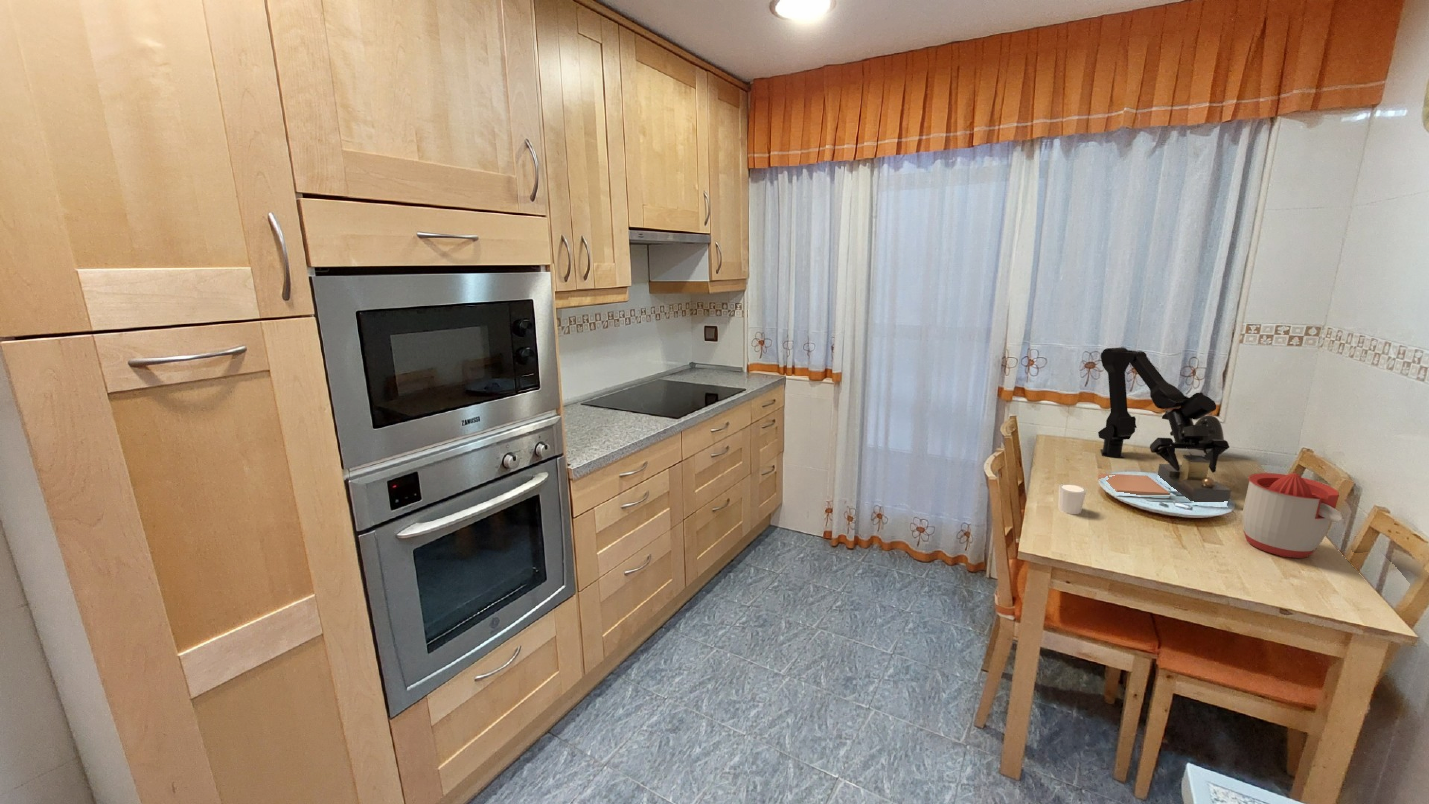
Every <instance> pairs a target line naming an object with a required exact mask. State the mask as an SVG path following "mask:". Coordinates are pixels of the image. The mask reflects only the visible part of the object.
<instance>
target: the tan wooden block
mask: <svg viewBox="0 0 1429 804" xmlns="http://www.w3.org/2000/svg"><path fill="white" fill-rule="evenodd" d="M1209 464H1210V460H1208V459H1207V458H1205V457H1203V456H1197V455H1192V454H1183V455H1182V460H1181V464H1180V465H1181V471H1180V476H1179V480H1181V481H1182V480H1197V481H1202V479H1204V478H1208V473H1209V470H1210V468H1209Z"/></svg>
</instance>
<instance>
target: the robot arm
mask: <svg viewBox="0 0 1429 804" xmlns="http://www.w3.org/2000/svg"><path fill="white" fill-rule="evenodd" d="M1100 359H1101V360H1100V361H1101V365H1102V368H1103V369H1104V370H1105V371H1106V372H1107V376H1108V377H1107V378H1108V379H1107V380H1108V390H1109V405H1110V407H1109V409H1110V413H1109V415H1108V416H1107V418H1106V421H1105V426H1104V427H1103V428H1102V429H1101V430H1099V431H1098V432H1097V434H1098V438H1099V439H1101V440H1103V446H1102V449H1100V450H1099V451H1100V454H1101V456H1103V457H1109V458H1110V457H1111V458H1117V459H1118V458H1120V459H1124V454H1123V446H1124V441H1125V440H1130V439H1131V437H1132V435H1133V434H1135V432H1136V429H1137V425H1136V421H1137V420H1136V416H1132V415H1131V414H1130V413H1129V411H1128V410H1129V409H1128V398H1127V397H1128V396H1127V384H1126V381H1127V380H1126V370H1127V369H1128V367H1129V365H1130V366H1131V367H1132V368H1133V369H1134V371H1135V372H1136V373H1137V374H1138V375H1139V377H1140V379H1142V382H1144V384H1145V385H1146V387H1148V389H1149V394H1150V395H1149V396H1150V399H1151V401H1152V403H1153V405H1154V406H1155V407H1156V408H1157V409H1160V410H1166V409H1167V411H1165V413H1164V414H1163V415H1161V419H1162V420H1167V421H1168V422H1169V425H1170V426H1169V427H1170V429H1171V431H1170V432H1169V434H1170V437H1157V438H1156V439H1155V440H1154V441H1153V442H1152V443H1150V444H1149V449H1150V452H1151V453H1154V454H1155V455H1157V456H1160V457H1161V458H1162V459H1164V460H1165V461H1166V462H1167V464H1170V465H1171V466H1172V467H1173V468H1174V469H1175V470H1176V471H1179V470H1180V468H1179V465H1180V464H1179V460H1178V458H1177V455H1176V449H1177V450H1178V449H1180V450H1185V449H1186V450H1188V449H1203V451H1204V453H1206V455H1204V457H1205V458H1207V459H1208V460H1210V464H1209V471H1210V472H1211V473H1212V474H1213V473H1216V471H1217V463H1218V459H1219V456H1220V455H1222V454H1223V453H1224V452H1225V451H1227V450H1228V449H1230V445H1229V444H1230V443H1229V442H1228V441H1227V440H1226V439H1224V440H1218V439H1211V440H1210V441H1209V442H1207V443H1199V441H1202V440H1203V439H1204V438H1203V437H1206V436H1207V437H1209V435H1212V434H1215V427H1214V425H1213V424H1204V425H1203V426H1197V425H1195V423H1194V421H1193V420H1197V421H1198V420H1199V419H1200V418H1202V417H1203V416H1207V415H1209V414H1211V413H1212V412H1214V411H1216V410H1217V404H1216V402H1215V400H1213V399H1212V398H1210V397H1209V396H1208V395H1204V392H1195V393H1194V394H1192V395H1191V396H1190V397H1189V396H1186V395H1185V394H1184V393H1183V392H1182V391H1181V390H1180V389H1178V387H1176V386H1174V385H1172V384H1171V383H1168V382H1167V381H1166V380H1165V378H1164V377H1163V376H1162V375H1161V373H1160V372H1159V371H1158V370H1157V368H1156V367H1155V365H1154V364H1153V363H1152V362H1151V361H1150V360H1149V358H1148V357H1147V354H1146V352H1145V351H1142V350H1139V351H1138V350H1129V349H1127V348H1126V347H1124V346H1123V347H1121V346H1119V347H1108V348H1105V349H1103V351H1101V353H1100ZM1169 409H1170V411H1169ZM1171 436H1173V438H1171ZM1173 439H1174V440H1173Z"/></svg>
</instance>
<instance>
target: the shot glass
mask: <svg viewBox="0 0 1429 804" xmlns="http://www.w3.org/2000/svg"><path fill="white" fill-rule="evenodd" d="M1086 493H1087V489H1086V488H1085V487H1083V486H1081V485H1078V484H1073V483H1062V484H1059V486H1058V510H1059V511H1060V510H1061V512H1062V511H1063V513H1065V514H1068V513H1069V515H1080V514H1081V513H1082V510H1083V505H1084V501H1085V498H1086ZM1079 513H1080V514H1079Z"/></svg>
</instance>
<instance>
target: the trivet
mask: <svg viewBox="0 0 1429 804" xmlns="http://www.w3.org/2000/svg"><path fill="white" fill-rule="evenodd" d="M1109 475H1115V476H1112V477H1109ZM1106 476H1108V478H1109V479H1108V480H1106V481H1107V482H1108V483H1109V484H1110V486H1111V487H1112V488H1113V489H1115V491H1116V492H1124V493H1130V494H1136V495H1171V492H1169V491H1168V490H1167V489H1165V488H1164V487H1163V486H1162V485H1160V484H1159V483H1158V482H1156V481H1155V480H1154V479H1153V478H1151V477H1150V476H1149V475H1143V474H1125V473H1124V474H1123V473H1122V474H1121V473H1102V472H1101V473H1100V472H1099V473H1098V476H1097V480H1099V479H1101V478H1105V477H1106Z"/></svg>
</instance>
